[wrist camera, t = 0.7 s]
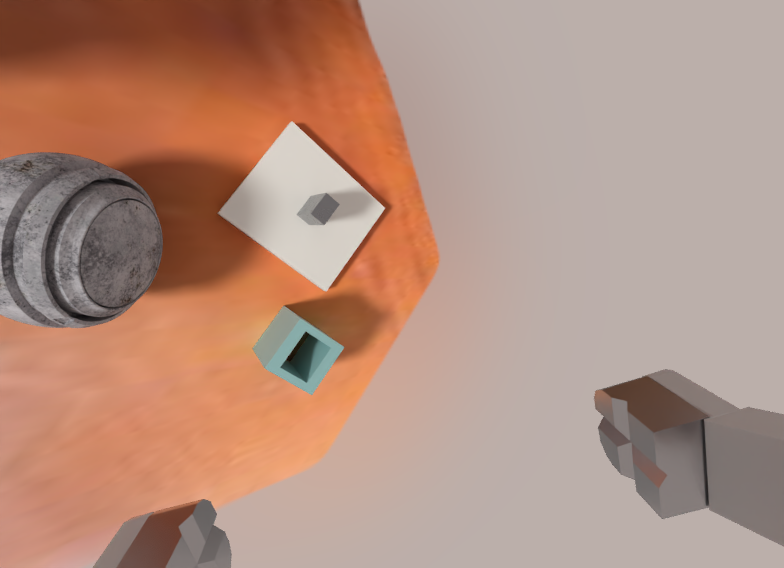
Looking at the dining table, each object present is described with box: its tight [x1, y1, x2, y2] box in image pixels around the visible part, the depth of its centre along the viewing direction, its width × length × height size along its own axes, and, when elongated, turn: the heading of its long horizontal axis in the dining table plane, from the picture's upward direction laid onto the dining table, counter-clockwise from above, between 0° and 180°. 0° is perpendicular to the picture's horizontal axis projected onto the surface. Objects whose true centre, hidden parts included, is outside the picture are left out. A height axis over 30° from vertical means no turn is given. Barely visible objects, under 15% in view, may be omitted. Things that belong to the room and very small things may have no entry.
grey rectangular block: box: [297, 193, 340, 225], centre depth 48 cm, size 2×3×6 cm, turn 141°
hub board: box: [217, 122, 385, 291], centre depth 51 cm, size 16×14×2 cm
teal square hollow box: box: [253, 306, 344, 395], centre depth 50 cm, size 7×7×8 cm
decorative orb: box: [0, 152, 163, 328], centre depth 35 cm, size 15×14×15 cm
